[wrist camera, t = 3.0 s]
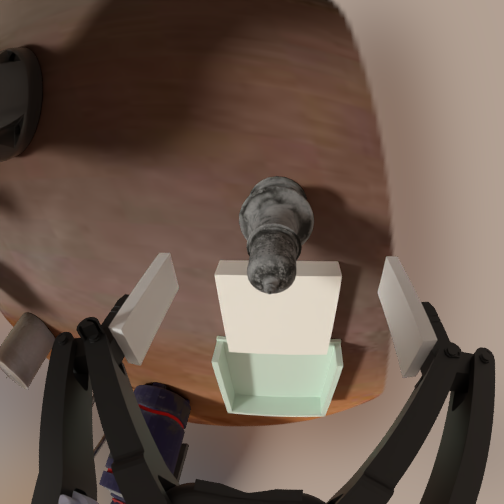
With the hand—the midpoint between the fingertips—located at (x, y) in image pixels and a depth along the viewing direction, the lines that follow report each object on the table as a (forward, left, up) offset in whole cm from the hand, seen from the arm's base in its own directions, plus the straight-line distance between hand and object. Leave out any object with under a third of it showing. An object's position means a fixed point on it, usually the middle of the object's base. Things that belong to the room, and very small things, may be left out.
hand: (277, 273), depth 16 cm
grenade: (+40, -22, -10) cm, 47 cm away
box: (+26, 0, -10) cm, 27 cm away
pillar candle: (+25, -50, -10) cm, 57 cm away
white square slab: (+12, 0, -10) cm, 15 cm away
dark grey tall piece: (0, 0, -10) cm, 10 cm away
